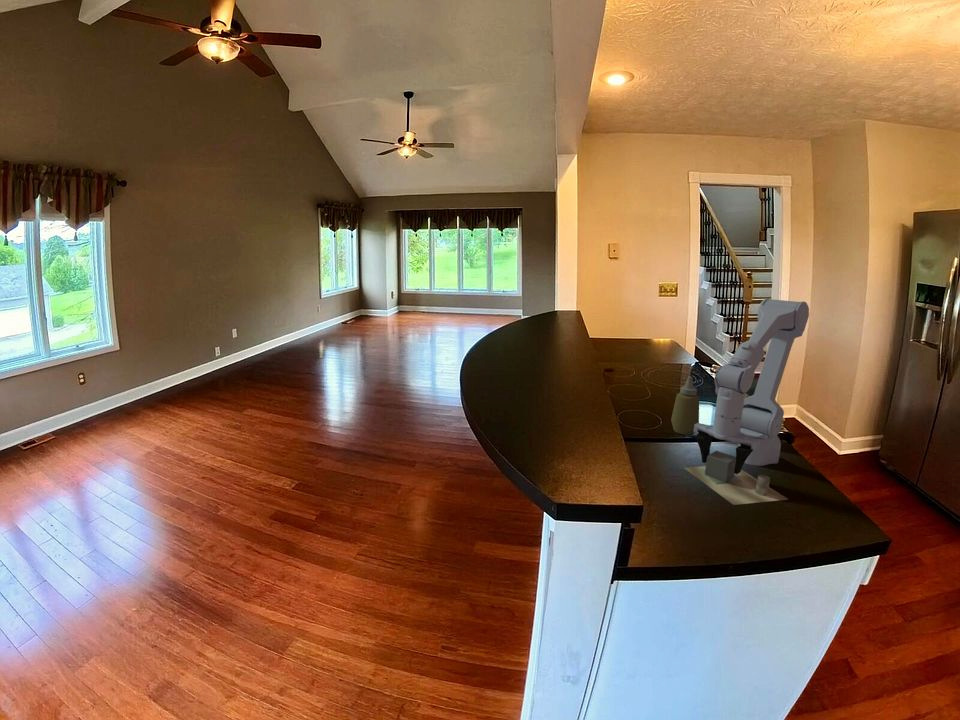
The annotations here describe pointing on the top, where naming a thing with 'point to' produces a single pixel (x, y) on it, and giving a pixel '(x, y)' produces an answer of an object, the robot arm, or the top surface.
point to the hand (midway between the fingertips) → (720, 467)
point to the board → (740, 487)
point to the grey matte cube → (720, 466)
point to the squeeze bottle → (686, 409)
